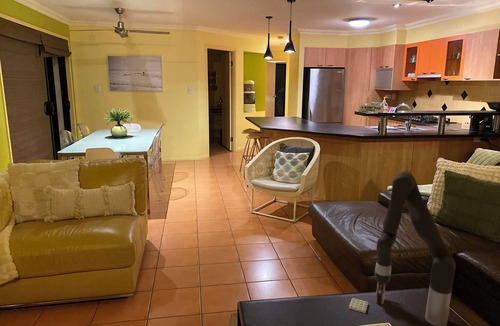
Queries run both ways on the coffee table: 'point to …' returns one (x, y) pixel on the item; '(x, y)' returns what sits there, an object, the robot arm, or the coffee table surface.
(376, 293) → the brick stack
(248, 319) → the coffee table surface
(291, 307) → the coffee table surface
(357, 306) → the stud plate
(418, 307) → the coffee table surface
